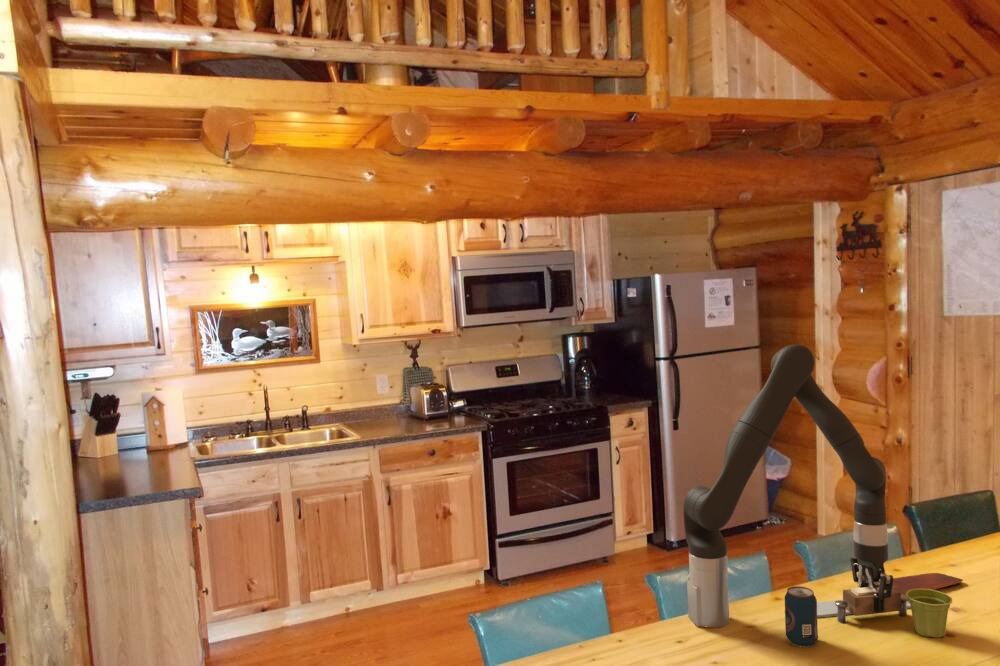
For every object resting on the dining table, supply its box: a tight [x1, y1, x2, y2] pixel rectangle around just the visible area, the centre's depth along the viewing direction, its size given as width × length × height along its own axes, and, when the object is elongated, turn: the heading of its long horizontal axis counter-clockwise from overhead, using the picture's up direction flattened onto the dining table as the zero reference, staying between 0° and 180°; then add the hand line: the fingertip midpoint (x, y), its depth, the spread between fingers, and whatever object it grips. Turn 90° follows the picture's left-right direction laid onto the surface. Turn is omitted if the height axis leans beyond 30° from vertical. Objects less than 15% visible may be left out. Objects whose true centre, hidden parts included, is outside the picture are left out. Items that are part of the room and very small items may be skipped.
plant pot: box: [906, 589, 953, 639], centre depth 173 cm, size 9×9×9 cm
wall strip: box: [817, 599, 911, 619], centre depth 188 cm, size 26×7×1 cm, turn 97°
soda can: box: [784, 585, 819, 648], centre depth 171 cm, size 7×7×12 cm
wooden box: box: [842, 587, 901, 617], centre depth 181 cm, size 12×5×5 cm, turn 98°
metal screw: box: [835, 599, 848, 624], centre depth 181 cm, size 3×3×5 cm
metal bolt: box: [897, 594, 909, 617], centre depth 182 cm, size 3×3×5 cm
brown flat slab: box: [868, 572, 964, 595], centre depth 197 cm, size 27×10×2 cm, turn 110°
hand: (871, 606), depth 182 cm, fingers closed on wooden box, 5 cm apart
